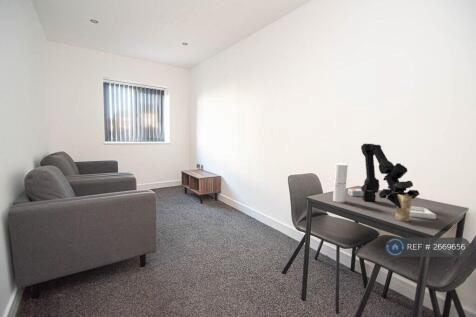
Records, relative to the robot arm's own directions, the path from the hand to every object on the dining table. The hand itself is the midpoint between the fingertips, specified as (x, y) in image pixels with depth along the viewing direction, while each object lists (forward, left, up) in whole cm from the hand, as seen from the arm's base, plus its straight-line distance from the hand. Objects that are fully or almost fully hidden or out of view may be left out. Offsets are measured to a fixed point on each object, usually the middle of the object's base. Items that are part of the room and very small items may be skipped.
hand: (405, 208), depth 119 cm
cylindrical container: (-28, +25, -7) cm, 39 cm away
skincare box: (-18, +44, -4) cm, 48 cm away
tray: (+12, +13, -7) cm, 19 cm away
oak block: (0, +1, -7) cm, 7 cm away
